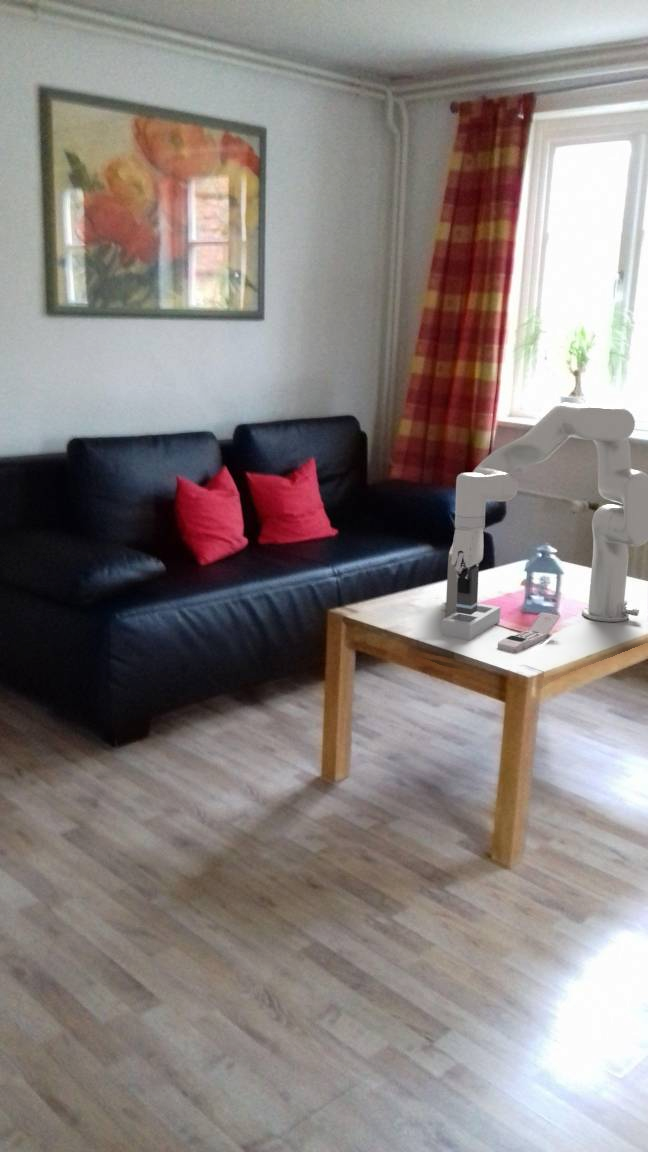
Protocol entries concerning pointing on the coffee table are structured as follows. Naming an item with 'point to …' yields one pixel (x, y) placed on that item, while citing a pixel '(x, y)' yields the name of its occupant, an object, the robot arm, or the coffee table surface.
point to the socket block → (470, 622)
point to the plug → (469, 601)
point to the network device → (451, 587)
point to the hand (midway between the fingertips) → (467, 590)
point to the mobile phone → (530, 634)
